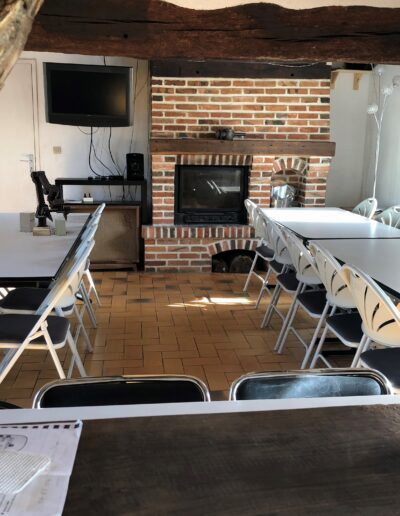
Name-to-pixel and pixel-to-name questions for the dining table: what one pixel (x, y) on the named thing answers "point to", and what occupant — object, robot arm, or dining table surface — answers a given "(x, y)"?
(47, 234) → the birch plinth
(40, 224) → the robot arm
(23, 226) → the supplement box
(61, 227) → the sage block
